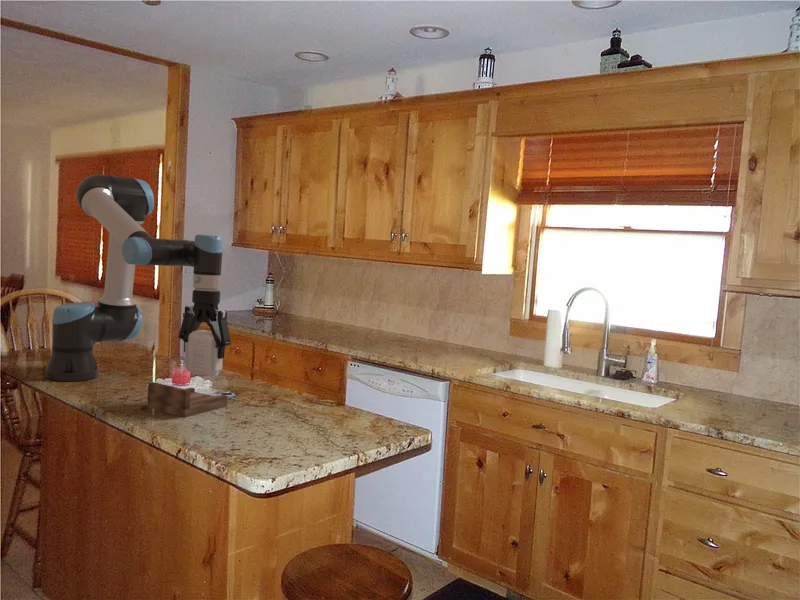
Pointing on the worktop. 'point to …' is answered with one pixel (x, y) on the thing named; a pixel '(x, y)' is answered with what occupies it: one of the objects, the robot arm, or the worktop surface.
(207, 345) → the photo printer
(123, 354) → the worktop surface
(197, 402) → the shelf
